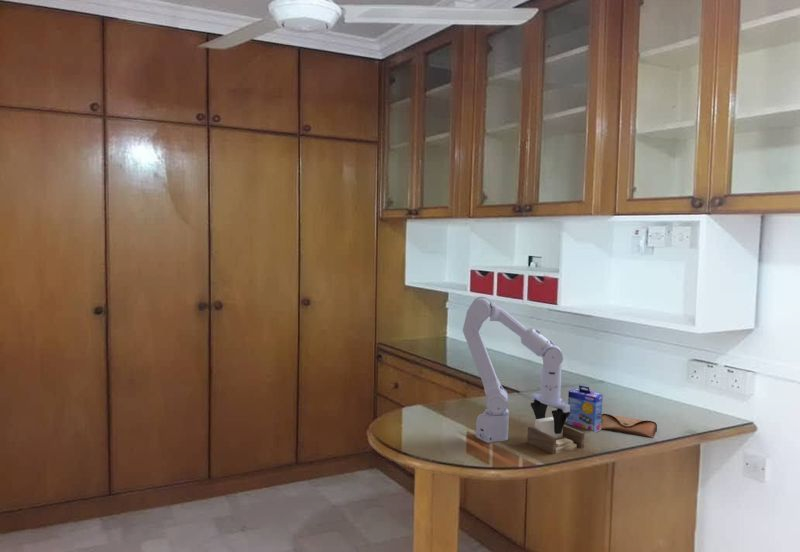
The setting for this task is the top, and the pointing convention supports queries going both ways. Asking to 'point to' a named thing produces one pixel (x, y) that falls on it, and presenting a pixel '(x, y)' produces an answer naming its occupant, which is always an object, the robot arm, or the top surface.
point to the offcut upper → (563, 442)
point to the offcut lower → (566, 447)
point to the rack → (549, 441)
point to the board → (547, 426)
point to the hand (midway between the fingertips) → (549, 429)
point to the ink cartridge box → (585, 409)
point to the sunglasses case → (628, 425)
